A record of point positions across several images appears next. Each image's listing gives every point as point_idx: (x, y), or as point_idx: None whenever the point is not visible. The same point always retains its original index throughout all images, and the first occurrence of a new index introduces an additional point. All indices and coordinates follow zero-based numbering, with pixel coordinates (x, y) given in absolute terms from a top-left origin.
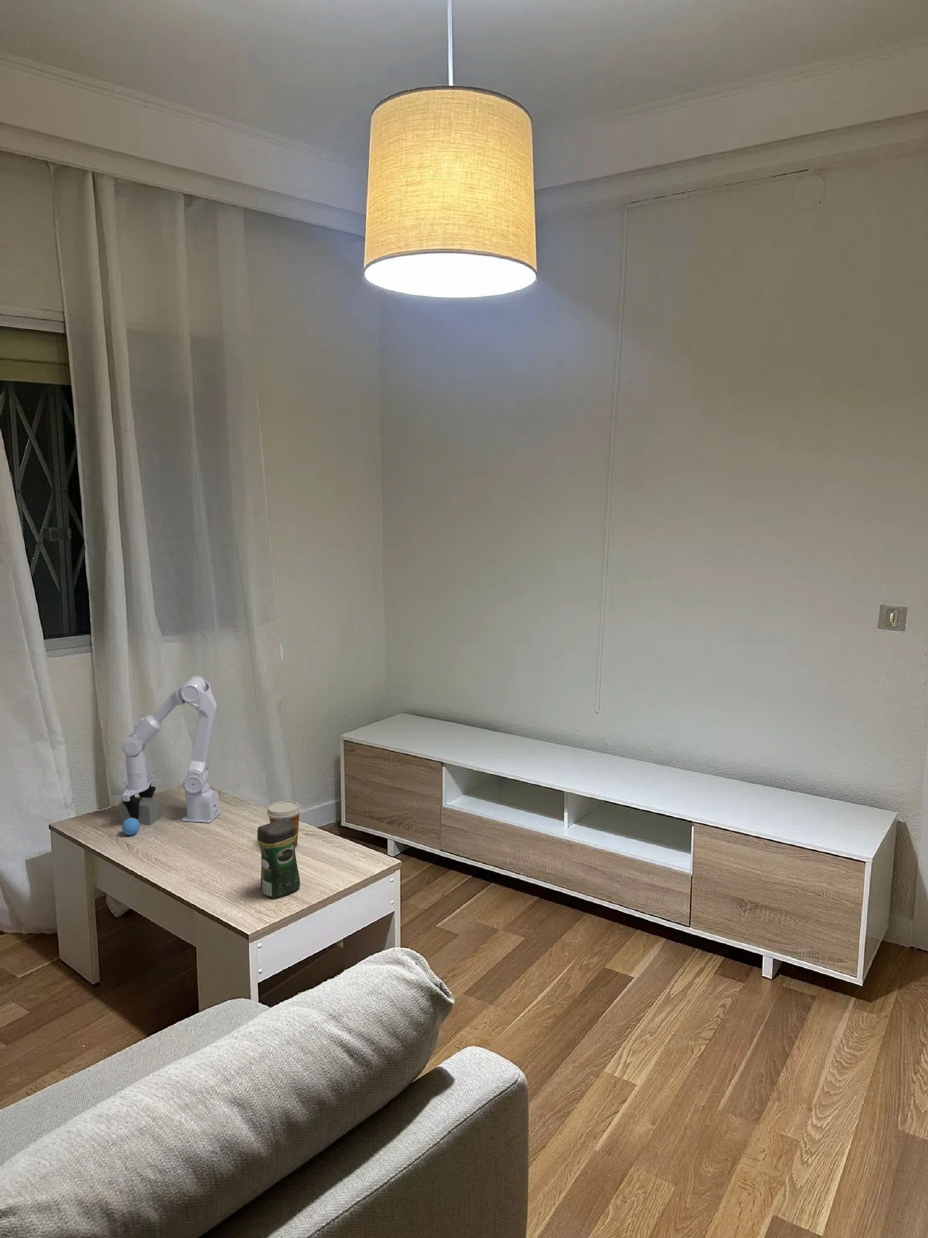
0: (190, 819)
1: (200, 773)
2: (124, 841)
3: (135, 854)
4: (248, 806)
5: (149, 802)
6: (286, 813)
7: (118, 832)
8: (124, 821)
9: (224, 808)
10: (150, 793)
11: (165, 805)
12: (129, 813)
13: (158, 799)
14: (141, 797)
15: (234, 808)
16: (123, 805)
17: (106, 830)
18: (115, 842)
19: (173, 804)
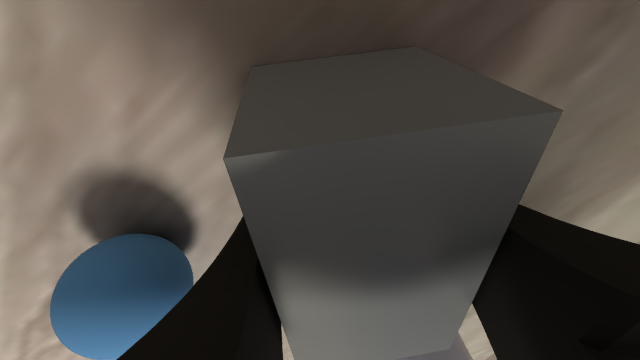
0: None
1: None
2: (64, 268)
3: (30, 357)
4: (486, 356)
5: (365, 352)
6: None
7: (115, 166)
8: (60, 324)
9: (479, 332)
10: (501, 356)
11: (569, 156)
12: (241, 225)
13: (436, 348)
14: (489, 256)
15: (475, 345)
16: (245, 208)
17: (62, 43)
18: (9, 243)
19: (571, 186)
